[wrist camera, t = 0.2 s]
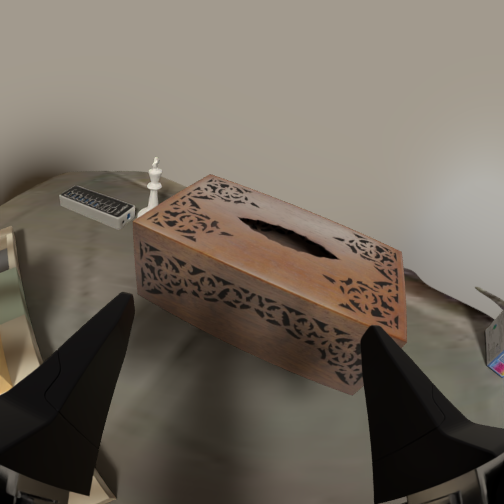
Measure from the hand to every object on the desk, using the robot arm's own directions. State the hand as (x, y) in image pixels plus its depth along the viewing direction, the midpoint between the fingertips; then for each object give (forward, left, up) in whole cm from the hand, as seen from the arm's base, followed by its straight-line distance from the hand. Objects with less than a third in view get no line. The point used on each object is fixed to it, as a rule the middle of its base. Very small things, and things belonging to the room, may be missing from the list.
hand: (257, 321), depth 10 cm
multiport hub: (+30, +24, -17) cm, 42 cm away
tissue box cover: (+16, -4, -17) cm, 24 cm away
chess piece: (+30, +13, -17) cm, 37 cm away
